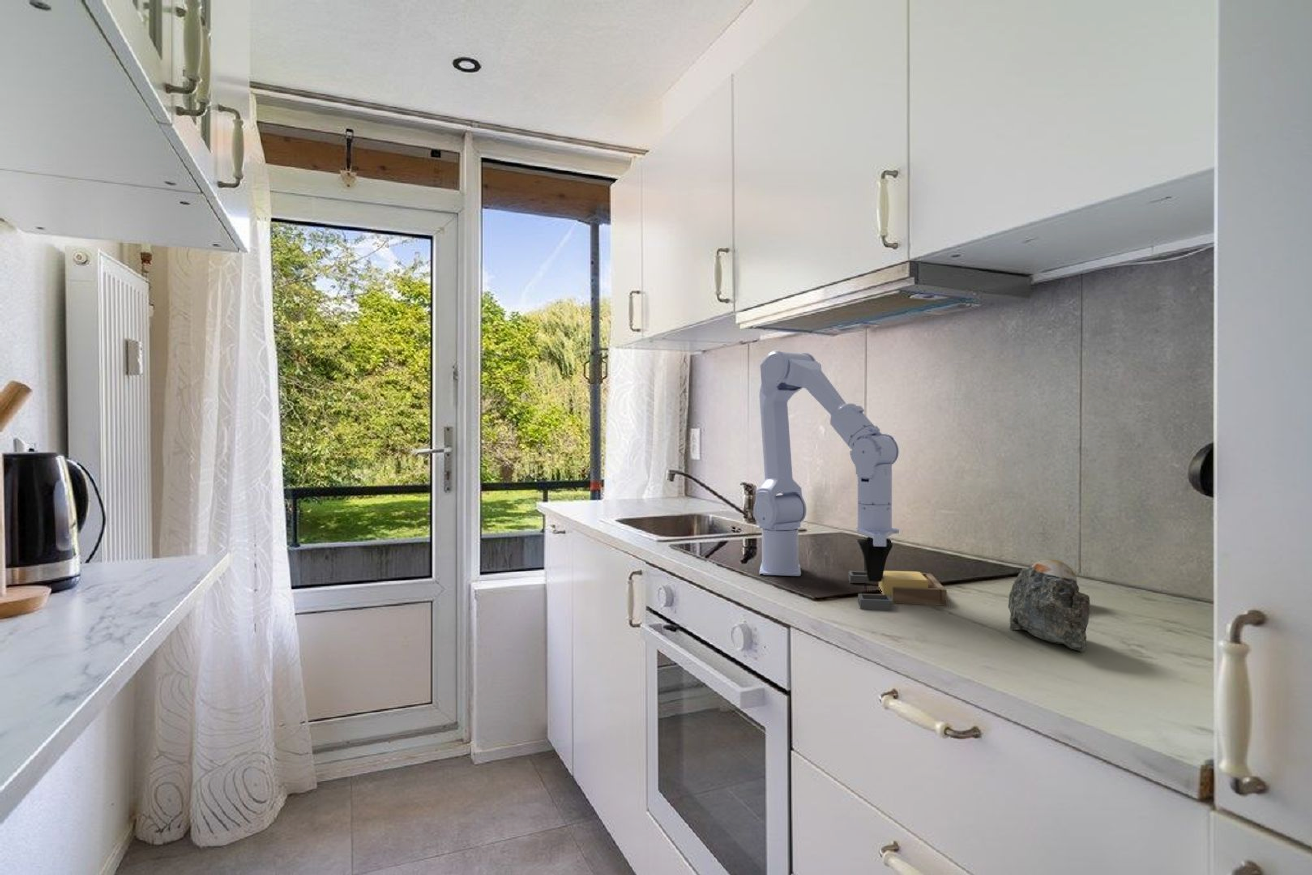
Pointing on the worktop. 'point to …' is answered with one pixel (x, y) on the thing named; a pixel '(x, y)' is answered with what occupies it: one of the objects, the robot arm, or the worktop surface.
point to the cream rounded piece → (1055, 568)
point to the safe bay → (922, 593)
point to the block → (901, 581)
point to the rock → (1049, 608)
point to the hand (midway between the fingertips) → (874, 580)
